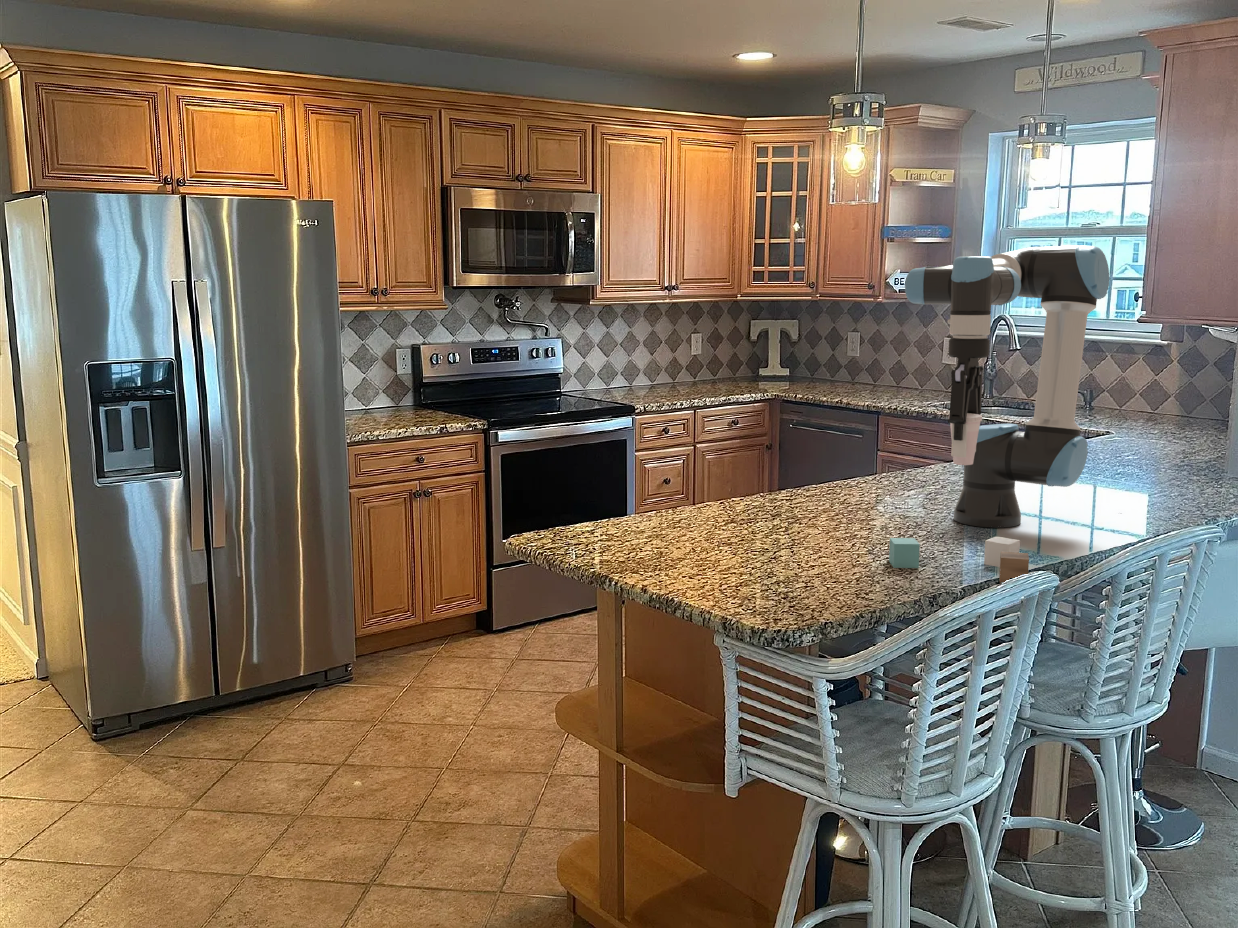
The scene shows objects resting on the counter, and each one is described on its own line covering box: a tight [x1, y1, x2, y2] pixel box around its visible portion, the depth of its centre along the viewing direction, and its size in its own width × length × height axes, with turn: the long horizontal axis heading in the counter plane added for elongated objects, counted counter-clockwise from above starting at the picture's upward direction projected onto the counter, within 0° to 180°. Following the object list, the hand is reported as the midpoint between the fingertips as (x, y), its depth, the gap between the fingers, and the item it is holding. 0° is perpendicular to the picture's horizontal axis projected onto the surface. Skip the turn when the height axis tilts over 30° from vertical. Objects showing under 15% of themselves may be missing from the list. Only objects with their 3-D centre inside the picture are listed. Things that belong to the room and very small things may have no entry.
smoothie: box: [948, 413, 983, 466], centre depth 212 cm, size 6×6×14 cm
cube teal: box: [888, 537, 921, 569], centre depth 217 cm, size 5×5×5 cm
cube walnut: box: [998, 551, 1030, 584], centre depth 205 cm, size 5×5×5 cm
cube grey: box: [983, 536, 1021, 568], centre depth 217 cm, size 5×5×5 cm
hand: (963, 453), depth 213 cm, fingers closed on smoothie, 6 cm apart
